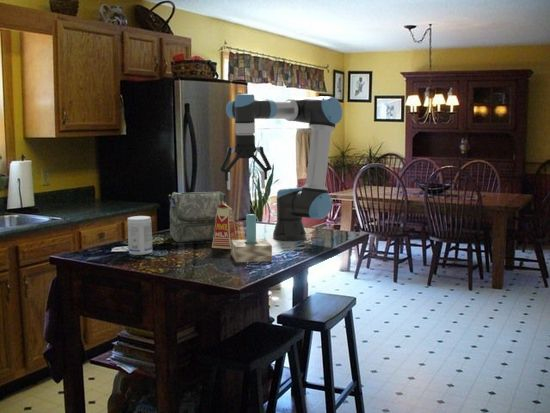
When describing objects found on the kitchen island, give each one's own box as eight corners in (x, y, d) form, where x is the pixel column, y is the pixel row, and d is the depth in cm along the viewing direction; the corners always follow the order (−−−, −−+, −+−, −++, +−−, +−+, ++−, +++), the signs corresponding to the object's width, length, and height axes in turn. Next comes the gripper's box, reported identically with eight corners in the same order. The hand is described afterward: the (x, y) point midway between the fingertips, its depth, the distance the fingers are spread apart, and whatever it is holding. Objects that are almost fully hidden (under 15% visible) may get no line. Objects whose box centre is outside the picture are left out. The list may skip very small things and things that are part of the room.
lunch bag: (172, 243, 273) (171, 194, 270) (166, 236, 290) (165, 190, 287) (229, 240, 281) (229, 192, 278) (220, 233, 298) (220, 188, 295)
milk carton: (232, 248, 262) (231, 202, 259) (211, 248, 264) (210, 201, 261) (237, 244, 271) (237, 199, 268) (217, 243, 273) (216, 198, 270)
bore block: (265, 253, 253) (265, 238, 252) (271, 260, 240) (271, 245, 239) (231, 254, 250) (231, 240, 250) (235, 262, 237) (235, 246, 236)
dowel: (255, 251, 247) (255, 214, 245) (256, 253, 243) (256, 215, 241) (245, 251, 246) (245, 214, 244) (247, 253, 243) (247, 215, 240)
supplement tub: (149, 249, 260) (148, 215, 258) (155, 254, 252) (154, 218, 250) (126, 251, 256) (124, 216, 254) (131, 256, 248) (130, 220, 246)
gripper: (274, 133, 247) (274, 186, 250) (211, 134, 241) (213, 188, 244) (278, 134, 239) (279, 188, 243) (214, 135, 234) (215, 191, 237)
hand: (246, 188), depth 243 cm, fingers open, 13 cm apart
